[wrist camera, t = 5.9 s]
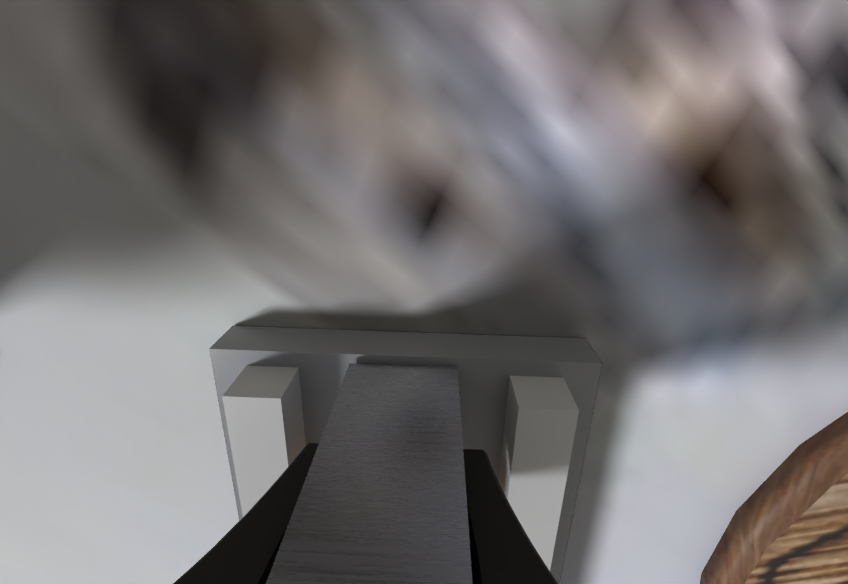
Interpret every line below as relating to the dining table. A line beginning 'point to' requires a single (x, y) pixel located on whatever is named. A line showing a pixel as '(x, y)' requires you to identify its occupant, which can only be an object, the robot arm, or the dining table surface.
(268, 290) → the dining table surface
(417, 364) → the box
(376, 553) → the brushed metal block
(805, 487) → the trivet
